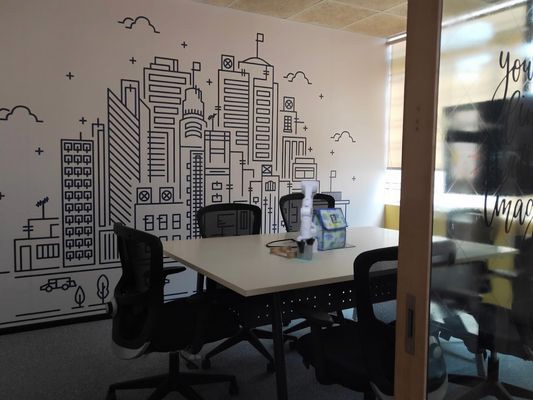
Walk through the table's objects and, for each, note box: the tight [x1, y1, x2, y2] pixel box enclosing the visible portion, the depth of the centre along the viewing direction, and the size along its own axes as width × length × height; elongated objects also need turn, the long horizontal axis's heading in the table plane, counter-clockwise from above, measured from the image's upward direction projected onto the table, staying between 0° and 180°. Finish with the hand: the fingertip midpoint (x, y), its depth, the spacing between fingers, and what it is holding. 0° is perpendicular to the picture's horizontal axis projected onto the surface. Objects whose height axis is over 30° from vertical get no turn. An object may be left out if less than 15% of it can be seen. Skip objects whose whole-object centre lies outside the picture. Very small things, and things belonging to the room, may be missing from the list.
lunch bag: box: [311, 207, 348, 252], centre depth 285 cm, size 22×17×26 cm
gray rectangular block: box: [296, 244, 313, 262], centre depth 248 cm, size 4×8×8 cm, turn 51°
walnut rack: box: [269, 244, 297, 260], centre depth 259 cm, size 16×16×4 cm
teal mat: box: [291, 257, 319, 263], centre depth 248 cm, size 12×9×1 cm
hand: (305, 252), depth 247 cm, fingers open, 7 cm apart
